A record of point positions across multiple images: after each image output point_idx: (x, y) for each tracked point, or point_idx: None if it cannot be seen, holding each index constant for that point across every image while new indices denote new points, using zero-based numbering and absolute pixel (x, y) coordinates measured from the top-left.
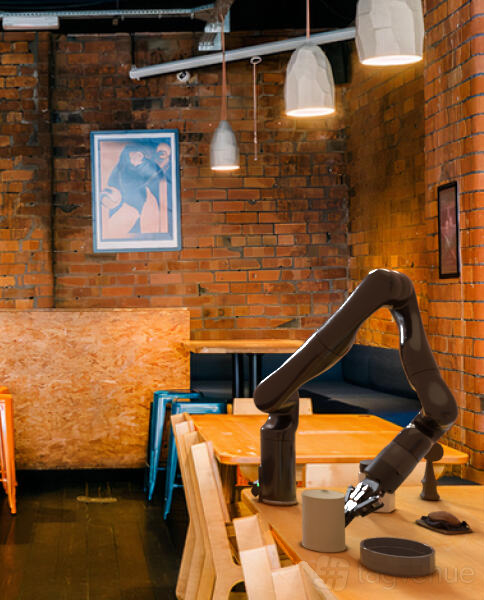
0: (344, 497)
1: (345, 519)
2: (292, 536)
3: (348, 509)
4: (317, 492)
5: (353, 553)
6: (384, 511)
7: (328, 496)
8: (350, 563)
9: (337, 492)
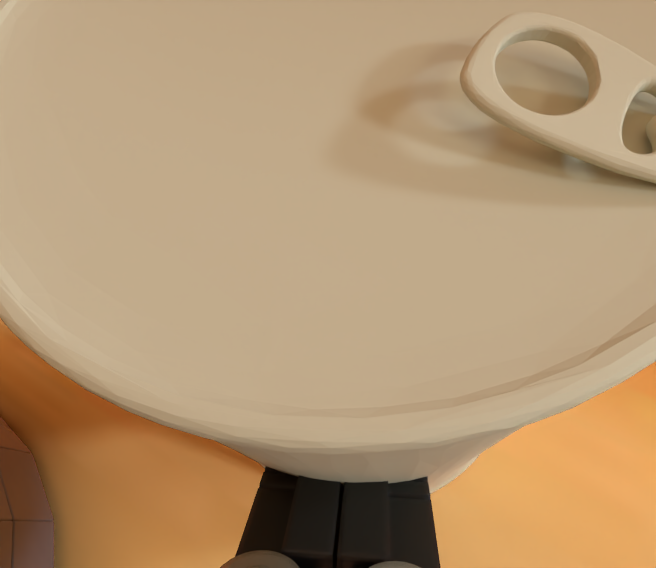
0: (6, 317)
1: (263, 476)
2: None
3: (275, 554)
4: (498, 1)
5: (173, 475)
6: None
7: (159, 55)
8: (23, 349)
9: (451, 356)
